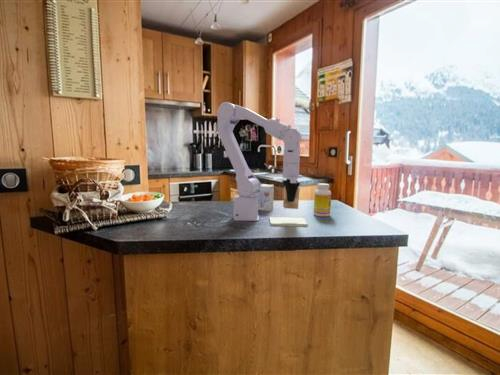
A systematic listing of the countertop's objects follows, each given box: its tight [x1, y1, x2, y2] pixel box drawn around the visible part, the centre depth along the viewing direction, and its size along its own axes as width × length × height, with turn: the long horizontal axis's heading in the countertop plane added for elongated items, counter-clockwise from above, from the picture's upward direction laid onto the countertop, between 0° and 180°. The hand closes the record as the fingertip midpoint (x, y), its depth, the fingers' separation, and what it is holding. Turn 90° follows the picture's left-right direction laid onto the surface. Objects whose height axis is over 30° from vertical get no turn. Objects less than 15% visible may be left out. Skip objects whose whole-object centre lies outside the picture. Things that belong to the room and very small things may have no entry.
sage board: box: [269, 216, 309, 227], centre depth 108 cm, size 13×9×1 cm
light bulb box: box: [257, 183, 275, 212], centre depth 130 cm, size 11×7×11 cm, turn 73°
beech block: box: [282, 185, 301, 210], centre depth 107 cm, size 5×4×8 cm
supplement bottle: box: [313, 182, 332, 217], centre depth 120 cm, size 7×7×13 cm
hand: (290, 200), depth 107 cm, fingers closed on beech block, 3 cm apart
